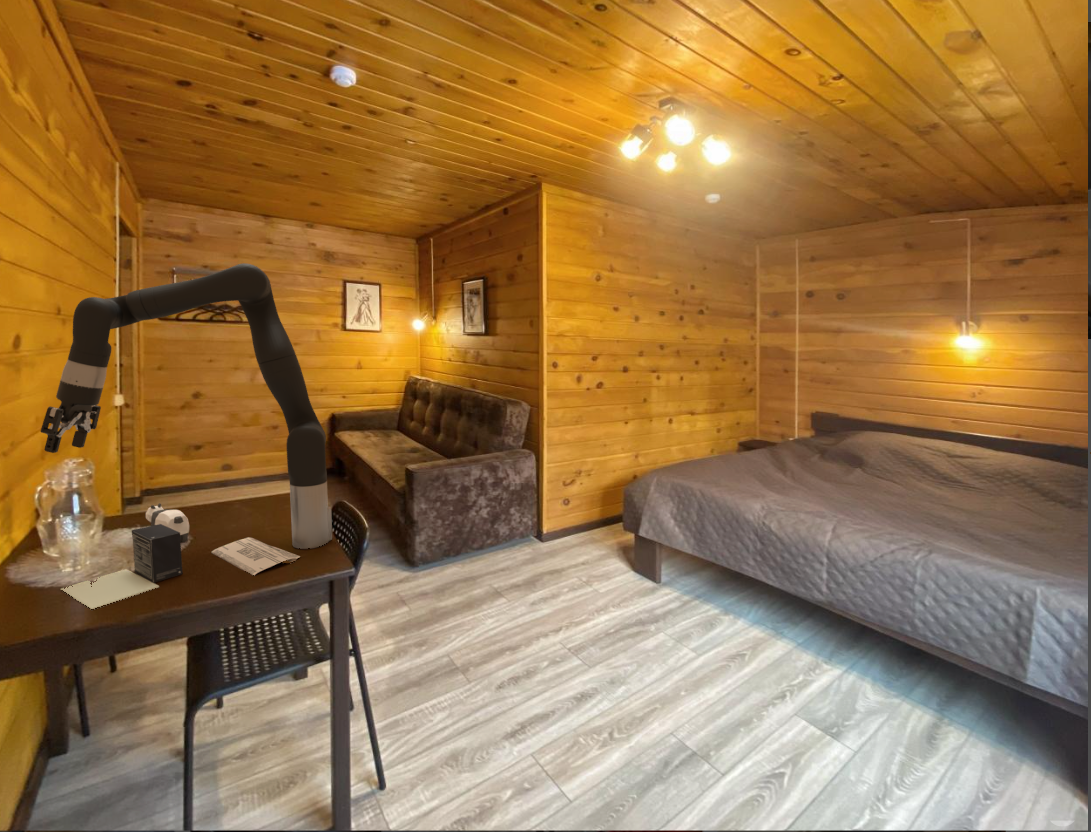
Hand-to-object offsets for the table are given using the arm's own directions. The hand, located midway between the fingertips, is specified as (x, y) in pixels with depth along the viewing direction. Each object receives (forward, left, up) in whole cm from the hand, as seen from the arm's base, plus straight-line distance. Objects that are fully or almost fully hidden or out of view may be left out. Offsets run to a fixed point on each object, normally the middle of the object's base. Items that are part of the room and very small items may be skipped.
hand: (64, 449), depth 120 cm
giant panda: (-20, -2, -29) cm, 36 cm away
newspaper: (-27, +28, -30) cm, 49 cm away
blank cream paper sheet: (0, +19, -29) cm, 35 cm away
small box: (-9, +19, -29) cm, 36 cm away
